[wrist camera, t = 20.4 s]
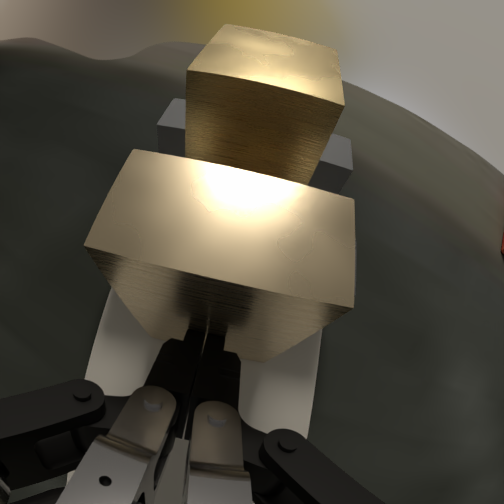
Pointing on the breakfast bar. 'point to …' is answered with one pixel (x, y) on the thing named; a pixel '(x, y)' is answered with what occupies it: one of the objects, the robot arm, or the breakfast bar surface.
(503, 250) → the cracker box
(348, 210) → the sliding jaw
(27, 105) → the breakfast bar surface
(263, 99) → the brass block
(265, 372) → the vise
